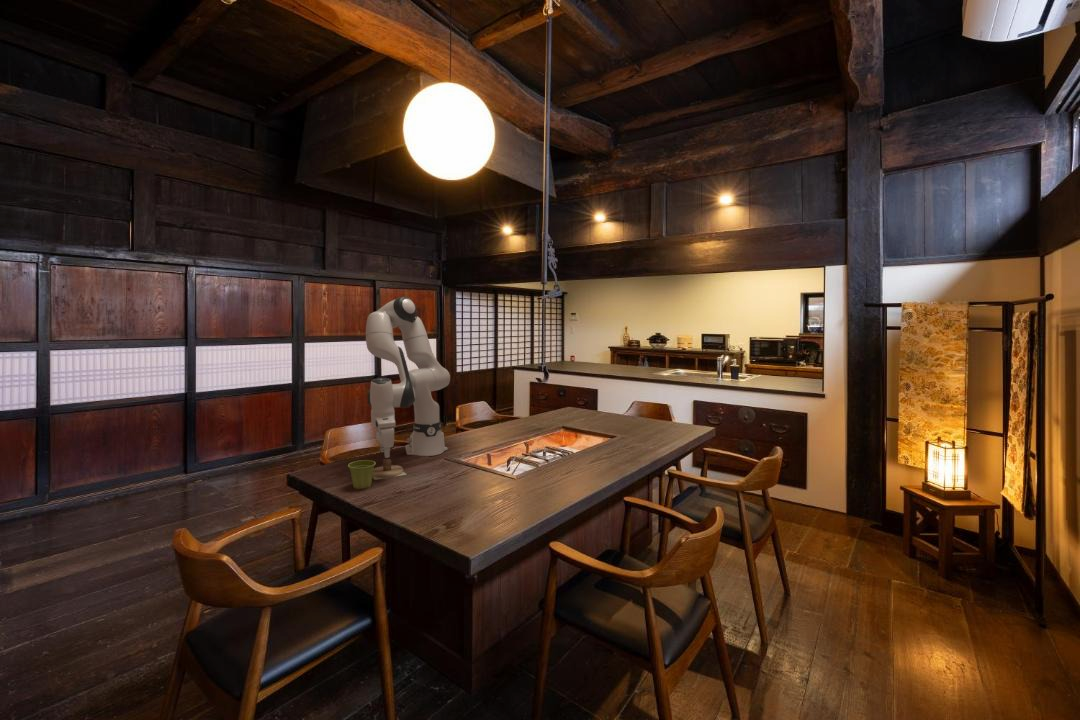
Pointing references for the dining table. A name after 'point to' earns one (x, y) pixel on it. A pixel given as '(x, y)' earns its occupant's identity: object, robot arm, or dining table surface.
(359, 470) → the plant pot
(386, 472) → the lid
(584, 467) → the dining table surface
